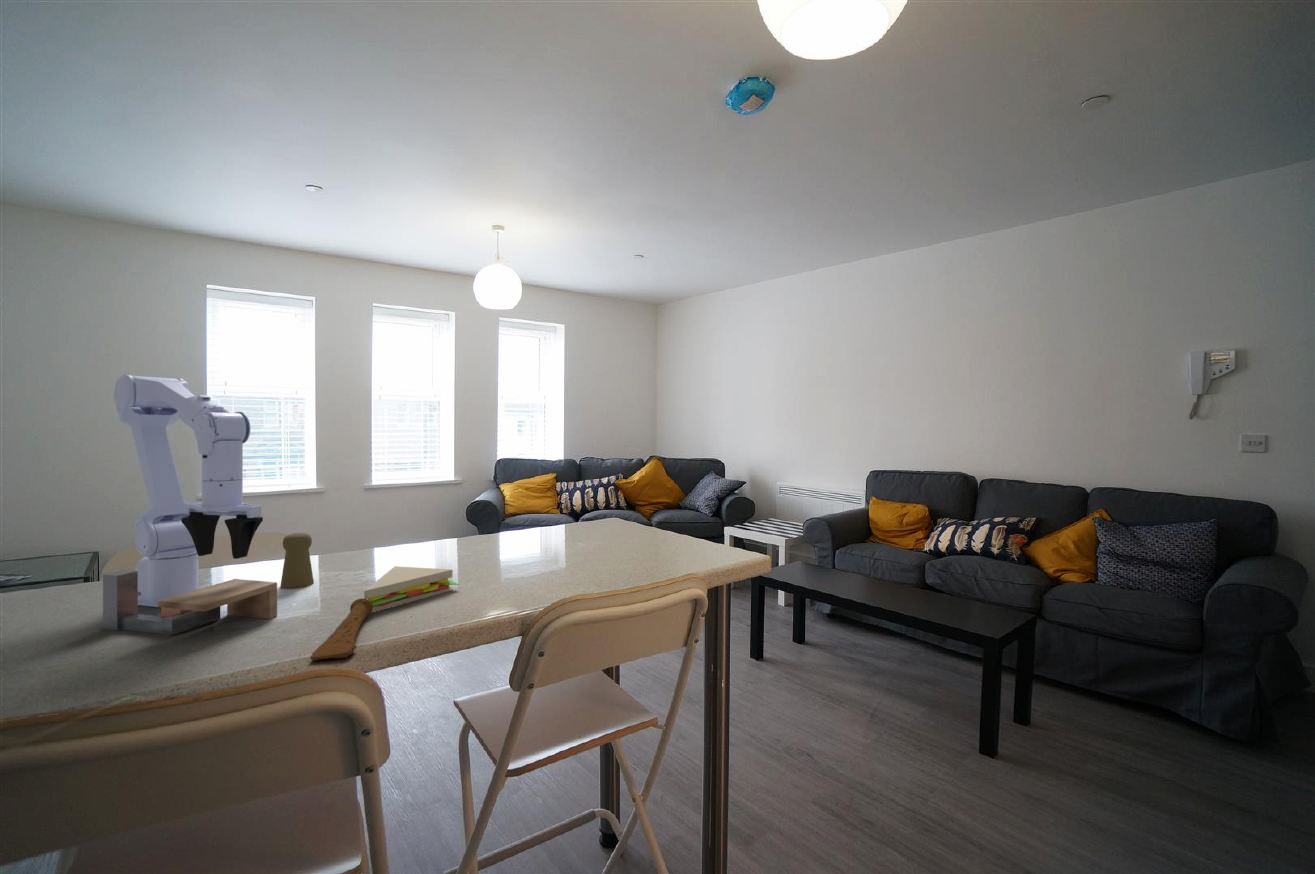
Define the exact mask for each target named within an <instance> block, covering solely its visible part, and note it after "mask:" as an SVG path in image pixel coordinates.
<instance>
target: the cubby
mask: <svg viewBox="0 0 1315 874" xmlns="http://www.w3.org/2000/svg"><path fill="white" fill-rule="evenodd" d="M225 605H226V607H227V608H226V612H227V613H226V615H227V616H236V617H248V618H258V619H265V618H266V619H265V620H271V619H273V618H272V617H274V618H276V617H278V582H276V581H262V580H255V579H254V580H251V579H250V580H249V579H241V578H240V579H239V578H234V579H231V580H230V579H229V580H227V581H223V582H220V583H216V584H213V585H209V586H204V587H201V588H198V589H197V590H194V591H190V592H187V593H183V594H179V595H176V596H172V597H169V598H165V599H161V600H158V601H157V607H156V608H161V607H163V608H173V609H183V610H193V611H203V612H204V611H207V610H210V609H214V608H217V607H220V608H221V607H223V606H225ZM275 616H276V617H275ZM270 618H271V619H270Z"/></svg>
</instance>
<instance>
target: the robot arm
mask: <svg viewBox="0 0 1315 874" xmlns="http://www.w3.org/2000/svg"><path fill="white" fill-rule="evenodd" d="M113 399H114V404H115V407H116V412H117V415H118V417H119V421H120V422H121V423H124V424H125V425H128V426H129V427H130V429H131V433H132V436H133V441H134V445H135V449H136V453H137V457H138V461H139V465H140V469H141V470H140V471H141V473H142V477H143V481H144V485H145V490H146V494H147V498H148V502H149V505H150V507H149V508H148V509H146V510H145V511H144V512H143V513H141V514H140V515H139V516H138V517H137V518H136V520H135V522H134V528H135V529H134V530H135V535H134V542H135V547H136V550H137V551H138V553H139V554H140V555H142V556H143V557H142V558H141V559H140V560H138V561H137V563H136V565H135V567H134V571H138V606H143V607H150V608H151V607H152V608H153V607H154V608H158V607H157V601H158V600H161V599H165V598H169V597H172V596H176V595H179V594H183V593H187V592H190V591H194V590H197V589H199V557H203V556H208V555H213V552H214V547H215V546H214V545H215V544H214V543H215V533H216V530H217V526H218V522H219V520H220V518H221V517H222V516H224V517H227V516H228V517H234V518H226V519H224V524H225V527H226V528H227V531H228V533H229V537H230V543H231V546H230V547H231V553H232V559H236V560H237V559H243V558H245V557H248V553H249V550H250V547H251V544H252V540H253V538H254V536H255V534H256V531H257V530H258V528H259V527H260V525H261V523H262V522H263V520H264V517H263V516H262V505H257V504H250V503H245V502H243V485H244V484H243V483H244V482H243V478H244V477H243V475H244V474H243V465H244V464H243V462H244V461H243V459H244V458H243V457H244V456H243V454H244V451H243V450H244V448H243V445H244V444H245V443H246V442H248V440H249V438H250V435H251V423H250V420H249V417H248V416H247V415H246V414H245V413H244V412H243V411H235V412H230V411H228V410H227V409H225V408H224V406H222V405H220V404H218V403H216V402H214V400H211V399H212V398H211V396H210V395H207V394H198V395H194V394H193V393H192V392H191V391H190V387H189V384H188V381H187V380H185V379H183V378H182V377H176V378H173V377H159V376H158V377H157V376H143V375H131V374H126V373H125V374H121V376H120V377H118V378H117V380H116V381H115V385H114V390H113ZM179 420H180V421H182V422H183V424H185V425H187V427H190V428H191V429H192V430H193V433H194V437H195V440H196V442H197V443H196V444H197V451H198V454H200V455H201V501H199V502H198V501H193V502H188V501H186V500H185V498H184V496H183V491H182V487H181V483H180V479H179V476H178V475H179V474H178V471H177V467H176V464H175V460H174V455H173V451H172V448H171V444H170V440H169V437H168V433H167V427H169V426H171V425H174V424H176V423H178V421H179Z"/></svg>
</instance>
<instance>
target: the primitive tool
mask: <svg viewBox="0 0 1315 874" xmlns="http://www.w3.org/2000/svg"><path fill="white" fill-rule="evenodd" d="M349 607H350V608H349V614H348V615H347V616H346V617H345V618H344V619H343V621H341V623H340V624H339V625H338V626H337V628H335V630H334V631H333V632H332V633H331V634H330V636H328V637H327V639H326V640H325V641H323V643H322V644H320V645H319V646H318V647H317V648H316V649H314V651H313V652H312V654H311V656H310V657H309V658H310V660H311V661H317V660H324V659H325V660H326V659H344V658H345V659H346V658H347V657H349V656H350V655H352V653H354V651H355V650H356V649H357V644H355V643H356V639H357V635H358V633H359V630H360V628H361V625H362V623H363V622H364V620H365V619H366V618H367V617H369V616H370V615H371V614H372V613H371V612H372V609H373V605H372V603H371V602H369V601H368V599H364V598H362V597H361V598H358V599H356V600H354V601H353V602H352V603H351V604H350V606H349ZM370 613H371V614H370Z"/></svg>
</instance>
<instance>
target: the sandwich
mask: <svg viewBox="0 0 1315 874" xmlns="http://www.w3.org/2000/svg"><path fill="white" fill-rule="evenodd" d="M450 578H453V569H450V568H448V569H447V568H430V567H415V566H399V565H398V566H397V565H395V566H393V567H392V568H391V569H389V570H388V571H387V572H386V573H384V574H383V575H382V576H381V577H380V578H378V579H377V581H375V582H374V583H372V584H371V585H369V586H368V587H367V588H366V589H365V590H364V593H363V594H364V596H363V597H364V598H363V599H367V600H368V601H369V602H371V603H372V605H373V609H372V612H374V611H378V612H381V611H380V610H382V611H384V610H383V609H385V610H387V609H386V608H388V609H390V608H389V607H392V608H395V607H399V606H401V605H400V604H402V605H405V604H404V603H406V604H409V603H413V602H416V601H418V600H419V599H420V600H422V599H426V598H429V597H432V596H436V595H440V594H443V593H447V592H450V591H451V586H460V583H457V582H454V581H452V580H450ZM398 605H399V606H398ZM372 612H371V614H373V613H372Z"/></svg>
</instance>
